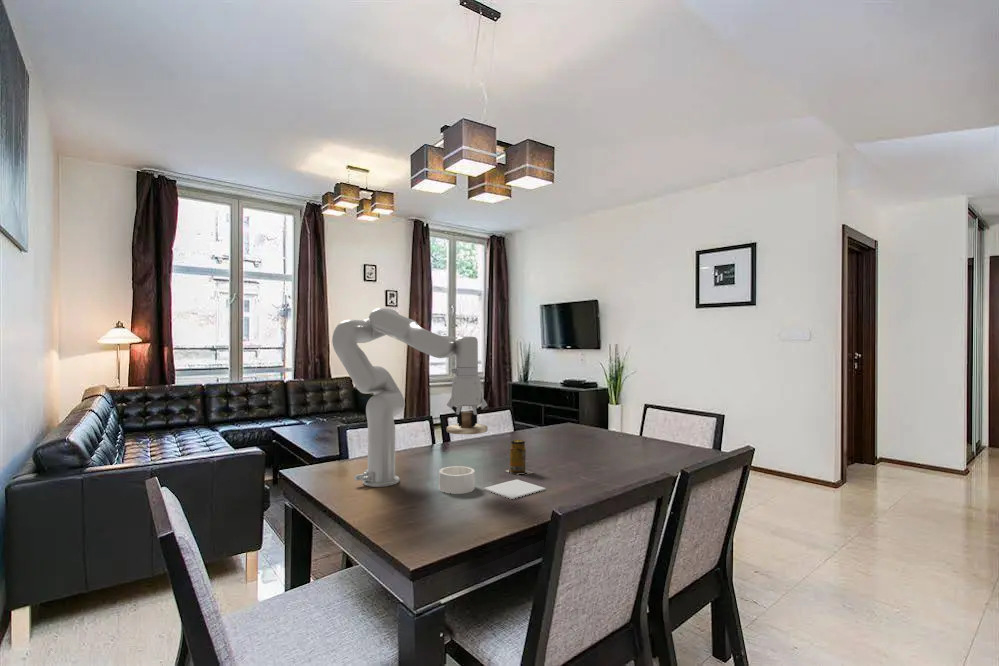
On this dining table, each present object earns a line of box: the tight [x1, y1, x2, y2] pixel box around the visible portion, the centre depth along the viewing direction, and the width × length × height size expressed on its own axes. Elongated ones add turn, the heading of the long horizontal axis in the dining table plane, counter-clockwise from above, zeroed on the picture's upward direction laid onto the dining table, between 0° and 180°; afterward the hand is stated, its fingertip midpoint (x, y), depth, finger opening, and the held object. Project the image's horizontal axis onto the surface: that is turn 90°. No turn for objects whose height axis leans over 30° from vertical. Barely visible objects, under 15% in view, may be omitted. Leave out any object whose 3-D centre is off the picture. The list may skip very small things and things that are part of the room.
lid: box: [446, 411, 489, 435], centre depth 172 cm, size 14×14×6 cm
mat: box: [482, 479, 547, 500], centre depth 171 cm, size 16×14×1 cm
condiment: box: [505, 439, 534, 476], centre depth 194 cm, size 7×8×12 cm
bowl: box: [438, 465, 476, 495], centre depth 172 cm, size 12×12×6 cm
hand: (467, 425), depth 172 cm, fingers closed on lid, 4 cm apart
